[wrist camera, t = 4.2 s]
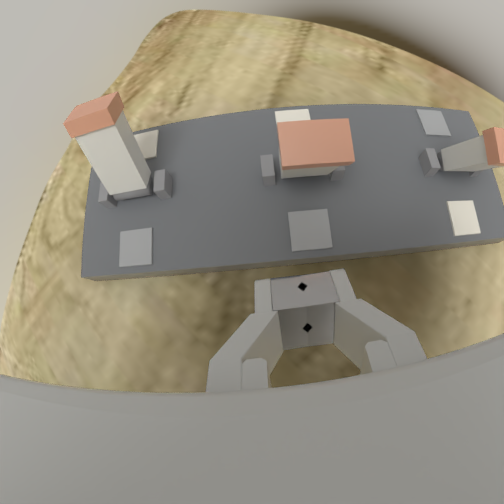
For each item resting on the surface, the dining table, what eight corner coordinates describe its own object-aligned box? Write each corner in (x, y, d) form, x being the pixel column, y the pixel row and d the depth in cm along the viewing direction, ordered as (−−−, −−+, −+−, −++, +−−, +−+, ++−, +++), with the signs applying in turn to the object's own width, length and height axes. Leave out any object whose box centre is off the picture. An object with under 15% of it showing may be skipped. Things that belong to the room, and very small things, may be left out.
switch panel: (497, 242, 20) (521, 231, 16) (95, 280, 23) (69, 274, 19) (460, 122, 22) (475, 102, 19) (106, 152, 25) (87, 133, 22)
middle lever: (326, 179, 20) (354, 161, 12) (279, 183, 21) (282, 166, 13) (322, 151, 20) (348, 118, 12) (276, 155, 20) (277, 122, 12)
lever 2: (466, 175, 19) (532, 165, 11) (435, 175, 20) (500, 163, 12) (463, 150, 19) (527, 132, 11) (432, 149, 19) (493, 127, 11)
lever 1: (153, 201, 21) (106, 108, 14) (115, 208, 21) (63, 123, 14) (158, 181, 22) (117, 91, 15) (121, 188, 22) (75, 106, 15)
